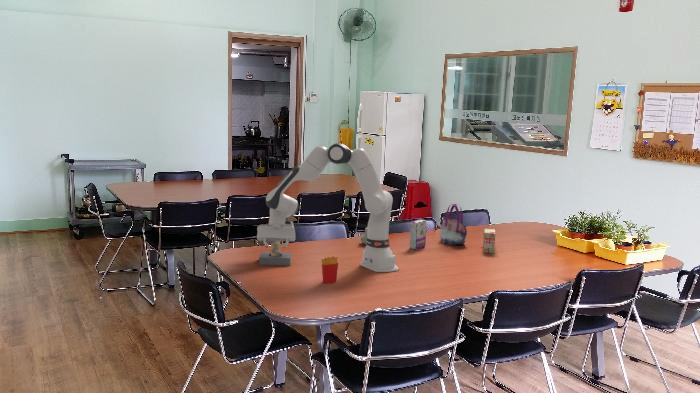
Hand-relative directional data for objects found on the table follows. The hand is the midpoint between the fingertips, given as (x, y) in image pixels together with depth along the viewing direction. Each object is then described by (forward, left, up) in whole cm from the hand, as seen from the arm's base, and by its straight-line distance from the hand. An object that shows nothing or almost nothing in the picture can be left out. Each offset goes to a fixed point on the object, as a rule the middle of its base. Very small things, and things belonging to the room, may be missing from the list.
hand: (275, 247), depth 307 cm
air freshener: (+30, -66, -9) cm, 73 cm away
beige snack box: (+2, -133, -9) cm, 134 cm away
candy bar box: (+15, -91, -9) cm, 93 cm away
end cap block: (+1, 0, -8) cm, 8 cm away
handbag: (+21, -119, -9) cm, 121 cm away
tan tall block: (+1, 0, -7) cm, 7 cm away
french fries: (-39, -16, -9) cm, 43 cm away
